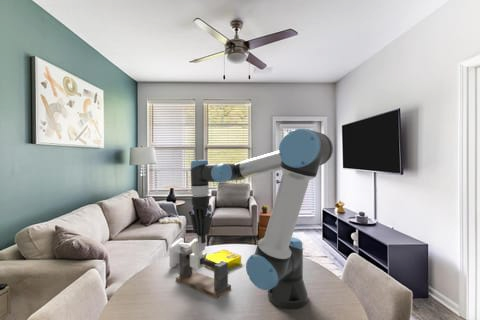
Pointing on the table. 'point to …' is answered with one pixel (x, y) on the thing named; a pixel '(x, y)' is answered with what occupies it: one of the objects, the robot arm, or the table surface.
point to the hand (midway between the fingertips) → (201, 250)
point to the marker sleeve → (197, 257)
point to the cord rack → (200, 281)
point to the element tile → (225, 258)
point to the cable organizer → (178, 251)
